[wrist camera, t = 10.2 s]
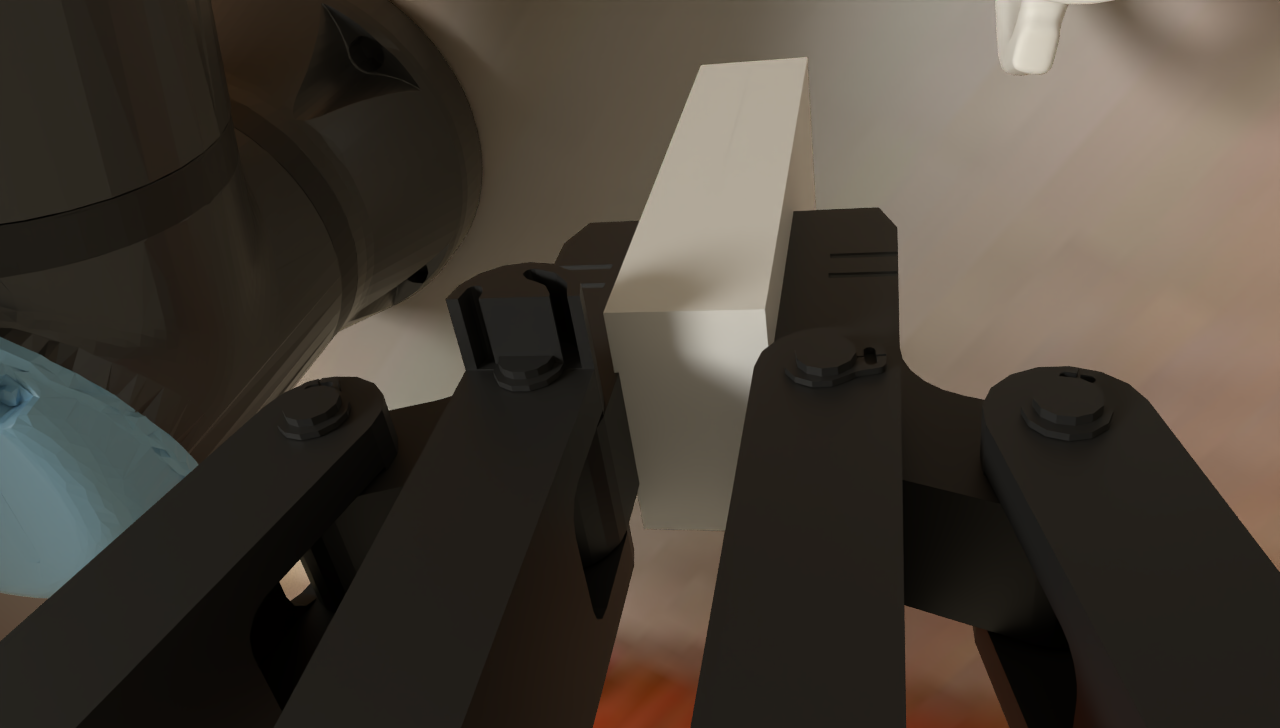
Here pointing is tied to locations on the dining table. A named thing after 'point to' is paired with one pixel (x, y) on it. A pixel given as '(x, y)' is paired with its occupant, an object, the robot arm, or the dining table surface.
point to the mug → (1030, 33)
